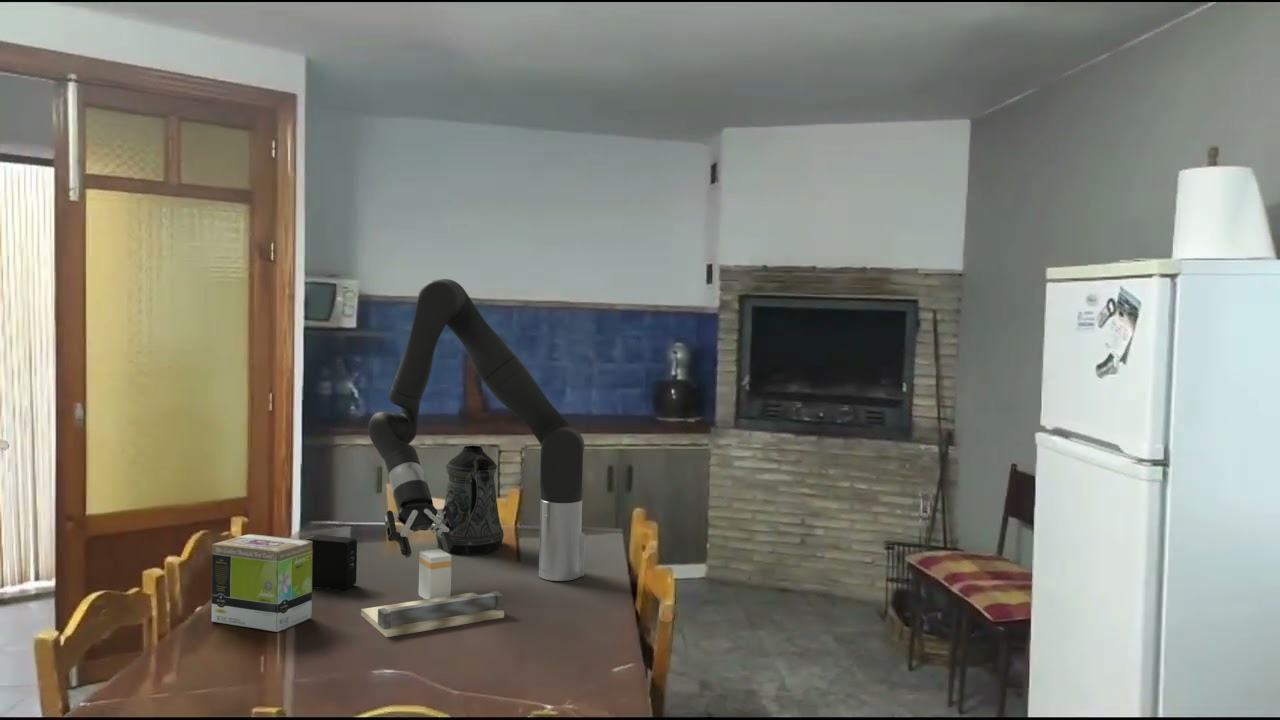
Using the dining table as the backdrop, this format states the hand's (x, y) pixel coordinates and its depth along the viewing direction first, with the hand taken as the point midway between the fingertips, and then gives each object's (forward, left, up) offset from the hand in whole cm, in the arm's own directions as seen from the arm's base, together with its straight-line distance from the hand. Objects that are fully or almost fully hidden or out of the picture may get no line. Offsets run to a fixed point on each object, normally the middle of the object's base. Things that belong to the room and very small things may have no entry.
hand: (428, 553), depth 193 cm
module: (0, +3, -8) cm, 9 cm away
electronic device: (+16, -14, -8) cm, 23 cm away
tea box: (+33, +2, -8) cm, 34 cm away
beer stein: (-24, -30, -8) cm, 40 cm away
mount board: (+5, +15, -8) cm, 18 cm away
